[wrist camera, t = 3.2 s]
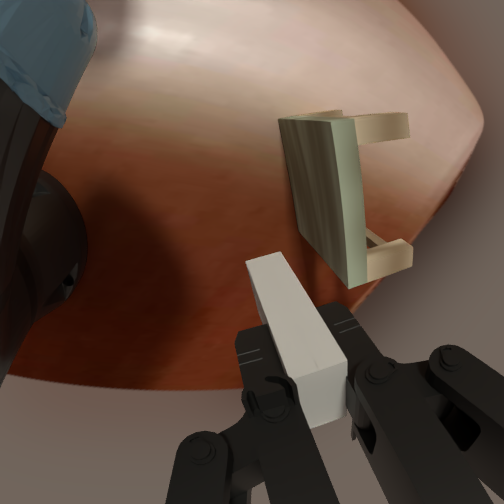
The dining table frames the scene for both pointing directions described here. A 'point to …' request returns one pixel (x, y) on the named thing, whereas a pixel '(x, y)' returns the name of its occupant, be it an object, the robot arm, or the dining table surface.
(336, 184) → the footstool
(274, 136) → the dining table surface
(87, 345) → the dining table surface
